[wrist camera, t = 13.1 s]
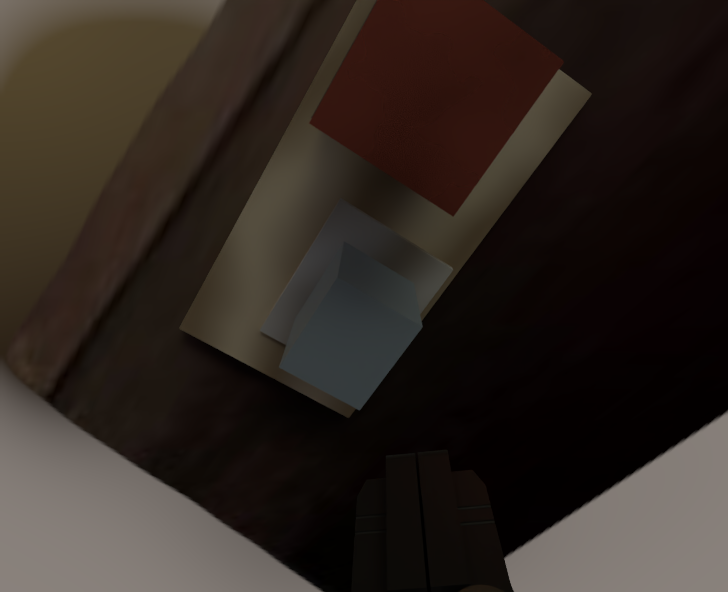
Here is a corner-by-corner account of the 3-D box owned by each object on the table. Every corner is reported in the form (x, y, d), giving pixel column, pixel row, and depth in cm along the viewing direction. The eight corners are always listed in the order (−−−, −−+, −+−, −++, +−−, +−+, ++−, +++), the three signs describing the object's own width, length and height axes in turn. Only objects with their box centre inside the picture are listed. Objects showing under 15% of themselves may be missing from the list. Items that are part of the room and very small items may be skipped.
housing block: (413, 283, 31) (422, 326, 26) (362, 355, 33) (359, 410, 28) (344, 241, 30) (337, 277, 25) (295, 318, 32) (278, 367, 27)
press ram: (506, 67, 22) (563, 61, 15) (431, 178, 24) (453, 216, 17) (397, -13, 21) (408, -56, 14) (328, 111, 23) (308, 123, 16)
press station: (581, 93, 29) (679, 98, 19) (349, 405, 37) (341, 512, 28) (387, -52, 26) (395, -124, 17) (186, 318, 35) (118, 404, 25)
